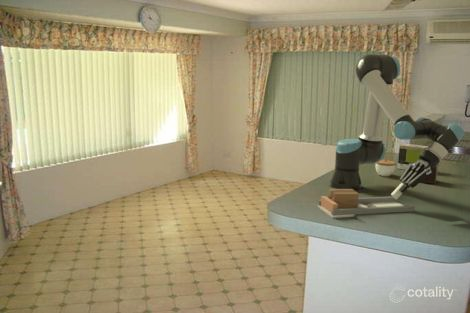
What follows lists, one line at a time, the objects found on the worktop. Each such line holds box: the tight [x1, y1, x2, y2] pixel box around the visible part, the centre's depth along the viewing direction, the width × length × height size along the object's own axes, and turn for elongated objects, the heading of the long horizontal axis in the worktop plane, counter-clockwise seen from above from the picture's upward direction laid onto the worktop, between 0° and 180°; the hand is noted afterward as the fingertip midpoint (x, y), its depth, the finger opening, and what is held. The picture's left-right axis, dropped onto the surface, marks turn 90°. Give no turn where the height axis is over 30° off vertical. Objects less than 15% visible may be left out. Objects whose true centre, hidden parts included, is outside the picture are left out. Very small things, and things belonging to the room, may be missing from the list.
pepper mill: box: [419, 163, 440, 185], centre depth 222 cm, size 16×11×18 cm
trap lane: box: [317, 195, 416, 219], centre depth 170 cm, size 14×36×5 cm, turn 103°
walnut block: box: [327, 188, 360, 209], centre depth 169 cm, size 7×10×7 cm
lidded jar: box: [374, 158, 397, 177], centre depth 232 cm, size 11×11×9 cm
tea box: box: [397, 143, 429, 171], centre depth 248 cm, size 15×10×15 cm
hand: (393, 196), depth 171 cm, fingers closed
